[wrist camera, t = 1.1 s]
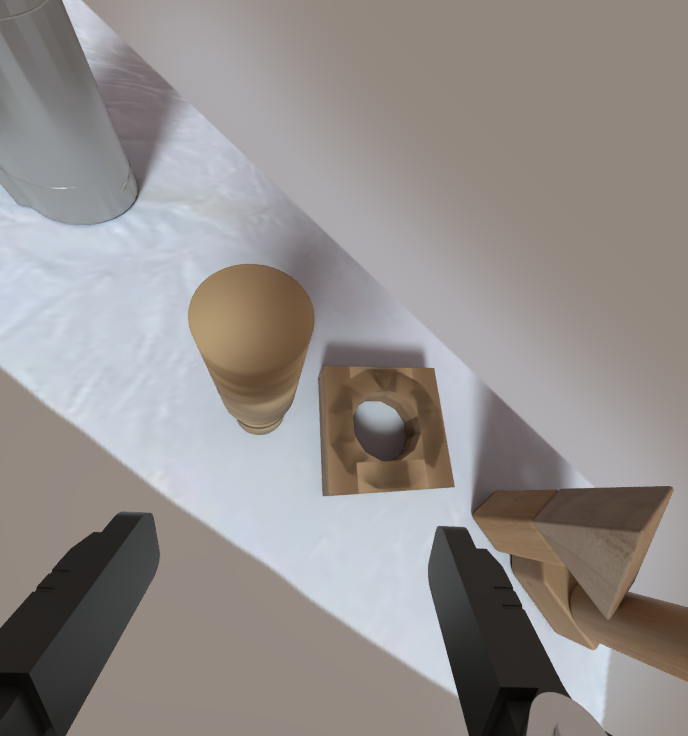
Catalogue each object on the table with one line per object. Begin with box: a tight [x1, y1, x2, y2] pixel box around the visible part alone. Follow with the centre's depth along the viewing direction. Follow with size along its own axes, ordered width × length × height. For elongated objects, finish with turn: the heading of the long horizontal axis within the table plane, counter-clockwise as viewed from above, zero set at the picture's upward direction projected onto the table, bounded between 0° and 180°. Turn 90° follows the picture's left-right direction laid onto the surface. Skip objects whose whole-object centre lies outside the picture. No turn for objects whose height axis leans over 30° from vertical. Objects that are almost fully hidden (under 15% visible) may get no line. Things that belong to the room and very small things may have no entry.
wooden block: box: [472, 486, 688, 682], centre depth 20 cm, size 4×11×18 cm, turn 35°
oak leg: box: [188, 264, 314, 435], centre depth 20 cm, size 5×5×16 cm
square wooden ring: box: [318, 366, 455, 496], centre depth 28 cm, size 10×10×3 cm
